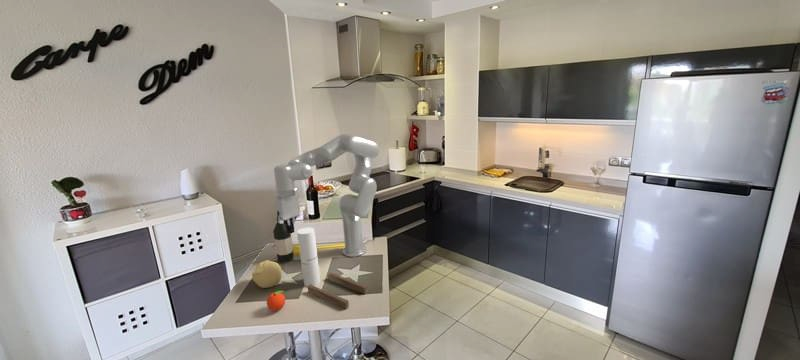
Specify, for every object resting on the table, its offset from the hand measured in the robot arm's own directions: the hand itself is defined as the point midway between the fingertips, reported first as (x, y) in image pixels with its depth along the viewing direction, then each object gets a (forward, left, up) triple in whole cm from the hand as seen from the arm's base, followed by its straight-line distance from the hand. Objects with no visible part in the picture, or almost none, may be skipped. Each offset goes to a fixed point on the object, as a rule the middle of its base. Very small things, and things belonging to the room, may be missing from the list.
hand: (290, 232), depth 148 cm
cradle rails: (0, +26, -22) cm, 34 cm away
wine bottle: (-8, -19, -22) cm, 31 cm away
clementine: (+20, +13, -23) cm, 33 cm away
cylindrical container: (0, +10, -22) cm, 25 cm away
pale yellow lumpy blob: (+11, -6, -23) cm, 26 cm away
